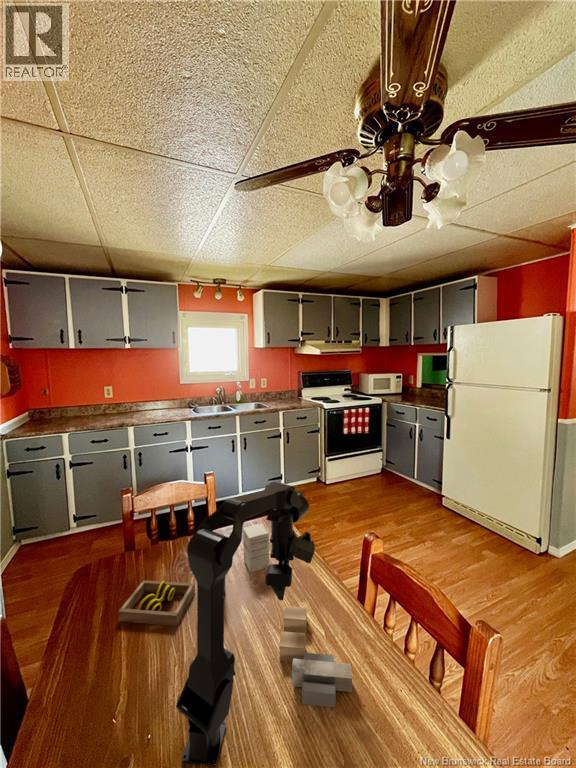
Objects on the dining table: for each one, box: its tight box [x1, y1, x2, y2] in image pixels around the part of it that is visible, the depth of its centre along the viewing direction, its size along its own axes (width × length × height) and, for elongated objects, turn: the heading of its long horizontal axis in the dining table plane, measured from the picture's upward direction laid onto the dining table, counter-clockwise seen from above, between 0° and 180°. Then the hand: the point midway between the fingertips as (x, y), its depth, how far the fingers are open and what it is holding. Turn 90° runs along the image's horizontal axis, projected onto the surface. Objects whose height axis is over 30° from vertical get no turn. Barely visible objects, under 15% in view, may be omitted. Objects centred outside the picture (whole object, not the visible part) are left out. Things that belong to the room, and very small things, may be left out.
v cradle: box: [301, 652, 337, 708], centre depth 68 cm, size 8×7×3 cm
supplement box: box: [242, 523, 270, 573], centre depth 108 cm, size 7×7×13 cm
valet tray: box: [118, 579, 196, 627], centre depth 91 cm, size 12×17×3 cm
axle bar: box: [291, 659, 353, 693], centre depth 68 cm, size 13×3×3 cm, turn 84°
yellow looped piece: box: [138, 580, 175, 611], centre depth 90 cm, size 10×5×5 cm, turn 159°
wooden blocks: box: [278, 605, 308, 663], centre depth 79 cm, size 12×6×4 cm, turn 174°
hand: (283, 586), depth 82 cm, fingers open, 9 cm apart
